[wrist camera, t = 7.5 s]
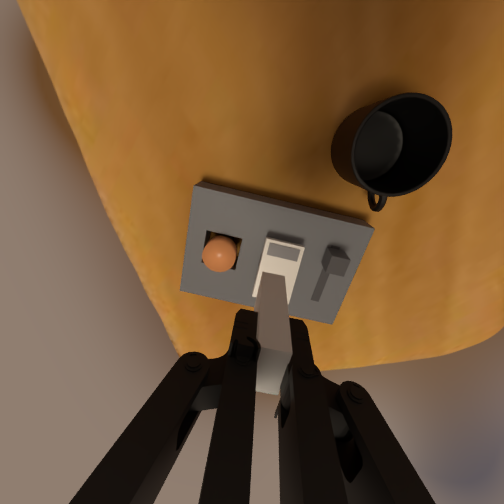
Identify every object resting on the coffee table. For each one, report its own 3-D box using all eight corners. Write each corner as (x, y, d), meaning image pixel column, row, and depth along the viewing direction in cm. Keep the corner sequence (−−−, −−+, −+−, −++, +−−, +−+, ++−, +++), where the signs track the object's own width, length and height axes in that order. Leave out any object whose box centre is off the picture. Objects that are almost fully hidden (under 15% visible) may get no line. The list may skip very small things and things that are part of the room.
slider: (327, 246, 34) (332, 255, 31) (344, 250, 34) (350, 260, 31) (321, 262, 35) (325, 272, 32) (337, 266, 35) (343, 276, 32)
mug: (327, 204, 36) (345, 223, 28) (332, 109, 32) (355, 96, 23) (396, 201, 35) (435, 218, 27) (411, 102, 31) (464, 87, 22)
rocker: (266, 236, 34) (266, 238, 32) (302, 245, 34) (305, 247, 32) (252, 291, 35) (252, 296, 34) (287, 299, 35) (288, 304, 34)
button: (213, 224, 38) (204, 238, 33) (242, 231, 38) (238, 246, 33) (208, 251, 40) (199, 268, 34) (236, 257, 40) (231, 275, 34)
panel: (201, 181, 36) (191, 186, 31) (364, 220, 37) (378, 231, 32) (187, 277, 42) (177, 294, 37) (326, 309, 43) (333, 329, 38)
